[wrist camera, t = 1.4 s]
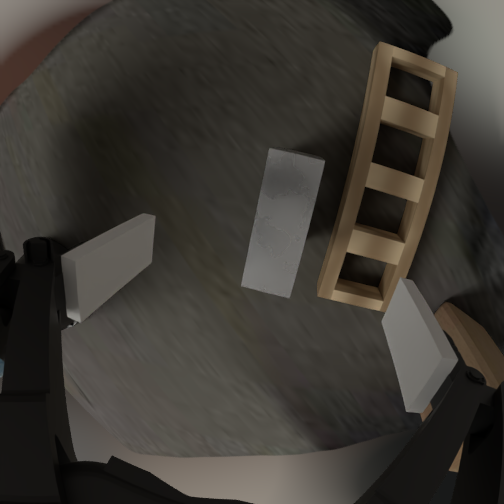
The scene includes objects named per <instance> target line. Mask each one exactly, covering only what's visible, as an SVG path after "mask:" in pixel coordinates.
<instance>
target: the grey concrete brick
mask: <svg viewBox="0 0 504 504" xmlns="http://www.w3.org/2000/svg"><path fill="white" fill-rule="evenodd" d="M324 164H325V160H324V159H323V158H322V157H320V156H316V155H312V154H308V153H303V152H299V151H295V150H291V149H286V148H282V147H273V148H269V152H268V157H267V162H266V167H265V172H264V177H263V181H262V186H261V191H260V196H259V201H258V206H257V211H256V215H255V220H254V225H253V230H252V235H251V240H250V245H249V250H248V254H247V259H246V264H245V269H244V274H243V279H242V284H241V286H243V287H247V288H251V289H255V290H258V291H262V292H266V293H270V294H274V295H278V296H282V297H286V298H290V295H291V291H292V288H293V284H294V281H295V277H296V273H297V270H298V266H299V262H300V259H301V255H302V251H303V248H304V244H305V240H306V236H307V233H308V229H309V225H310V221H311V217H312V213H313V209H314V205H315V201H316V197H317V193H318V189H319V185H320V181H321V177H322V172H323V168H324Z"/></svg>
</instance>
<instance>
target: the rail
mask: <svg viewBox="0 0 504 504" xmlns="http://www.w3.org/2000/svg"><path fill="white" fill-rule="evenodd" d="M391 66H392V67H394V68H397V69H400V70H403V71H406V72H408V73H411V74H414V75H416V76H419V77H421V78H424V79H426V80H429V81H431V82H433V85H432V92H431V98H430V104H429V110H428V111H426V110H423V109H421V108H418V107H416V106H413V105H410V104H408V103H405V102H402V101H399V100H396V99H393V98H390V97H387V96H386V91H387V85H388V79H389V74H390V67H391ZM457 77H458V72H456V71H453V70H452V69H449V68H447V67H445V66H443V65H440V64H438V63H436V62H434V61H431V60H429V59H427V58H424V57H422V56H419V55H417V54H414V53H411V52H409V51H406V50H403V49H401V48H398V47H395V46H392V45H389V44H386V43H383V42H379V43H378V44H377V46H376V47H375V49H374V50H373V54H372V60H371V66H370V72H369V77H368V83H367V88H366V93H365V98H364V103H363V108H362V113H361V118H360V123H359V127H358V132H357V136H356V141H355V145H354V149H353V154H352V158H351V162H350V166H349V170H348V175H347V179H346V183H345V186H344V190H343V194H342V198H341V202H340V206H339V209H338V213H337V217H336V220H335V224H334V228H333V231H332V235H331V238H330V242H329V245H328V249H327V252H326V255H325V259H324V262H323V265H322V269H321V272H320V275H319V279H318V282H317V293H318V297H322V298H326V299H331V300H335V301H339V302H343V303H348V304H352V305H356V306H361V307H365V308H369V309H374V310H378V311H383V312H386V310H387V308H388V306H389V303H390V301H391V299H392V296H393V294H394V291H395V289H396V286H397V284H398V281H399V279H400V277H401V278H405V279H406V276H407V273H408V271H409V268H410V266H411V263H412V260H413V258H414V255H415V252H416V249H417V246H418V243H419V241H420V238H421V235H422V232H423V229H424V226H425V222H426V219H427V216H428V213H429V210H430V206H431V203H432V199H433V196H434V192H435V189H436V185H437V181H438V177H439V173H440V169H441V165H442V161H443V157H444V153H445V148H446V143H447V139H448V134H449V129H450V123H451V118H452V112H453V105H454V99H455V92H456V84H457ZM380 123H381V124H384V125H387V126H390V127H393V128H396V129H399V130H402V131H404V132H407V133H410V134H413V135H415V136H418V137H421V138H423V140H422V144H421V149H420V153H419V157H418V162H417V166H416V170H415V174H414V176H412V175H409V174H406V173H403V172H401V171H397V170H394V169H391V168H388V167H385V166H382V165H379V164H375V163H372V162H371V161H372V157H373V153H374V148H375V144H376V140H377V135H378V130H379V126H380ZM365 187H368V188H372V189H375V190H378V191H382V192H385V193H388V194H391V195H395V196H398V197H401V198H404V199H407V203H406V206H405V210H404V213H403V216H402V220H401V223H400V226H399V229H398V232H397V234H395V233H391V232H388V231H384V230H381V229H377V228H374V227H370V226H367V225H363V224H359V223H356V222H355V221H356V218H357V214H358V211H359V207H360V204H361V200H362V196H363V192H364V189H365ZM346 252H349V253H353V254H357V255H361V256H364V257H368V258H372V259H376V260H380V261H383V262H387V265H386V267H385V270H384V273H383V276H382V278H381V281H380V283H379V286H378V288H377V287H373V286H369V285H365V284H361V283H357V282H353V281H348V280H344V279H340V278H338V276H339V273H340V270H341V267H342V264H343V261H344V258H345V254H346Z"/></svg>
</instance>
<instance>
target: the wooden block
mask: <svg viewBox="0 0 504 504" xmlns="http://www.w3.org/2000/svg"><path fill="white" fill-rule="evenodd" d="M434 316H435V318H436V320H437V322H438V323H439V325H440V327H441V329H442V330H444V331H446V332H447V333H448V334H449V335H450V336H451V338H452V340H453V341H454V343H455V346H456V347H457V348H458V351H459V352H460V354H461V356H462V358H463V360H464V361H465V363H466V365H467V366H470V367H473V368H475V369H477V370H478V371H480V372H481V373H482V374H483V375H484V377H485V379H486V381H487V384H486V385H487V386H490V387H492V388H495V389H497V388H498V387H499V385H500V384H501V382H503V381H504V356H503V354H502V353H501V351H500V350H499V349H498V347H497V346H496V344H495V343H494V341H493V340H492V339H491V337H490V336H489V334H488V333H487V332H486V330H485V329H484V328H483V327H482V326H481V325H480V324H478V323H477V322H476V321H475V320H473V319H472V318H471V317H469V316H468V315H467V314H465V313H464V312H462V311H461V310H460V309H458V308H457V307H456V306H454V305H453V304H452V303H448V302H444V303H443V304H442V305H441V306H440V307H439V308H438V310H437V311H436V312H435V313H434ZM431 411H432V406H431V403H429V404H428V406H427V407H426V408H425V410H424V411H423V412H422V413H420V414H421V418H422V421H424V420H425V418H426V417H427V416H428V415H429V413H430V412H431ZM463 442H464V441H463ZM462 448H463V443H462V445H461V447H460V450H459V452H458V454H457V455H456V457H455V459H454V461H453V463H452V465H451V467H450V469H449V471H455V472H458V470H459V465H460V459H461V454H462Z"/></svg>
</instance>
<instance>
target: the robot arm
mask: <svg viewBox="0 0 504 504" xmlns="http://www.w3.org/2000/svg"><path fill="white" fill-rule="evenodd" d="M155 218H156V216H154V215H149V214H145V213H143V214H140V215H138V216H136V217H134V218H132V219H130V220H128V221H126V222H124V223H122V224H120V225H118V226H116V227H114V228H112V229H110V230H108V231H106V232H105V233H103V234H101V235H99V236H97V237H95V238H93V239H91V240H89V241H86V242H82V243H80V244H78V245H76V246H74V248H73V247H72V248H71V249H69V250H67V249H66V248H64V247H63V246H62V245H60V244H59V243H57V242H54V241H53V240H52V239H50V238H47V237H34V238H31V239H28V240H26V241H25V242H24V243H23V249H24V255H23V256H22V257H21V258H20V259H19V260H18V261H17V262H16V263H15V256H14V253H13V252H12V251H9V250H4V247H3V242H2V238H1V233H0V378H1V377H2V376H3V381H2V392H1V394H0V504H253V503H248V502H244V501H240V500H229V499H209V498H198V497H190V496H187V495H185V494H183V493H181V492H180V491H178V490H177V489H175V488H173V487H172V486H170V485H168V484H167V483H165V482H164V481H162V480H160V479H159V478H158V477H156V476H154V475H153V474H151V473H150V472H148V471H145V470H143V469H141V468H138V467H136V466H134V465H132V464H129V463H127V462H125V461H123V460H121V459H118V458H116V457H114V456H111V458H110V460H109V461H108V463H107V464H105V463H99V462H93V461H77V458H76V455H75V452H74V448H73V444H72V438H71V432H70V426H69V420H68V413H67V405H66V397H65V388H64V377H63V363H62V344H61V330H63V329H66V328H70V327H73V326H75V325H76V324H78V323H79V322H80V323H82V322H83V321H84V320H85V319H86V318H87V317H88V316H90V315H91V314H92V313H93V312H94V311H95V310H96V309H98V308H99V307H100V306H101V305H102V304H103V303H104V302H106V301H107V300H108V299H109V298H110V297H111V296H113V295H114V294H115V293H116V292H117V291H118V290H120V289H121V288H122V287H123V286H124V285H126V284H127V283H128V282H129V281H130V280H132V279H133V278H134V277H135V276H136V275H138V274H139V273H140V272H141V271H142V270H144V269H145V268H146V267H147V266H148V265H150V264H151V263H152V254H153V240H154V228H155ZM382 325H383V328H384V331H385V335H386V338H387V341H388V345H389V348H390V351H391V355H392V358H393V362H394V365H395V369H396V373H397V376H398V380H399V384H400V388H401V392H402V396H403V400H404V404H405V408H406V412H416V413H422V412H423V411H424V410H425V408H426V407H427V406H428V404H429V403H431V406H432V411H431V412H430V413H429V415H428V416H427V417H426V418H425V420H424V421H423V422H422V423H421V425H420V426H419V427H418V428H419V429H418V430H417V431H416V433H415V434H414V435H413V437H412V438H411V440H410V441H409V442H408V443H407V445H406V446H405V447H404V448H403V450H402V451H401V452H400V454H399V455H398V456H397V457H396V458H395V460H394V461H393V462H392V463H391V464H390V465H389V467H388V468H387V469H386V470H385V471H384V472H383V474H382V475H381V476H380V477H379V478H378V479H377V480H376V481H375V482H374V483H373V485H372V486H371V487H370V488H369V489H368V490H367V491H366V492H365V493H364V494H363V495H362V496H361V497H360V498H359V499H358V500H357V501H356V502H355V503H354V504H429V502H430V501H431V499H432V498H433V496H434V494H435V493H436V491H437V489H438V488H439V486H440V485H441V483H442V481H443V479H444V478H445V476H446V474H447V472H448V471H449V469H450V467H451V465H452V463H453V461H454V459H455V457H456V455H457V454H458V452H459V450H460V447H461V445H462V443H463V448H462V454H461V459H460V465H459V470H458V474H457V479H456V483H455V487H454V492H453V496H452V499H451V503H450V504H504V381H503V382H501V384H500V385H499V387H498V388H497V389H495V388H492V387H490V386H487V385H486V384H487V381H486V379H485V377H484V375H483V374H482V373H481V372H480V371H478V370H477V369H475V368H473V367H470V366H467V365H466V363H465V361H464V360H463V358H462V356H461V354H460V352H459V351H458V348H457V347H456V346H455V343H454V341H453V340H452V338H451V336H450V335H449V334H448V333H447V332H446V331H444V330H442V329H441V327H440V325H439V323H438V322H437V320H436V318H435V316H434V315H433V313H432V311H431V310H430V308H429V306H428V304H427V303H426V301H425V300H424V298H423V296H422V295H421V293H420V291H419V290H418V288H417V287H416V285H415V283H414V282H413V280H409V279H405V278H401V277H400V279H399V281H398V284H397V286H396V289H395V291H394V294H393V296H392V299H391V301H390V303H389V306H388V308H387V310H386V313H385V315H384V317H383V319H382ZM463 441H464V442H463Z"/></svg>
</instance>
